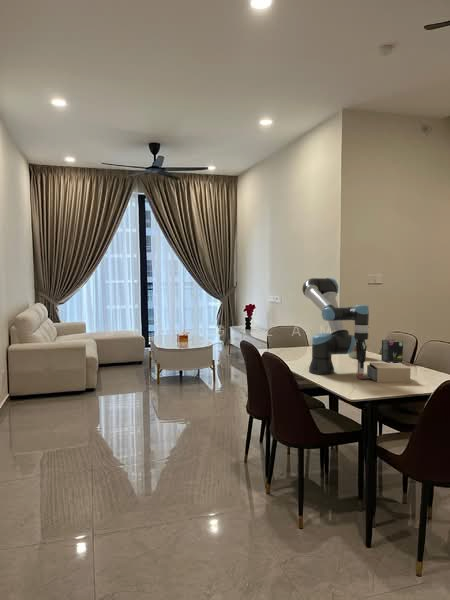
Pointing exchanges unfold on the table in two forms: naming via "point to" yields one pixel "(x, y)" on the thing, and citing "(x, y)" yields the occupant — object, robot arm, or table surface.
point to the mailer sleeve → (392, 372)
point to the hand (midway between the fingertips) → (360, 373)
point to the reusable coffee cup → (353, 354)
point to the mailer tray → (369, 372)
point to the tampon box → (392, 351)
